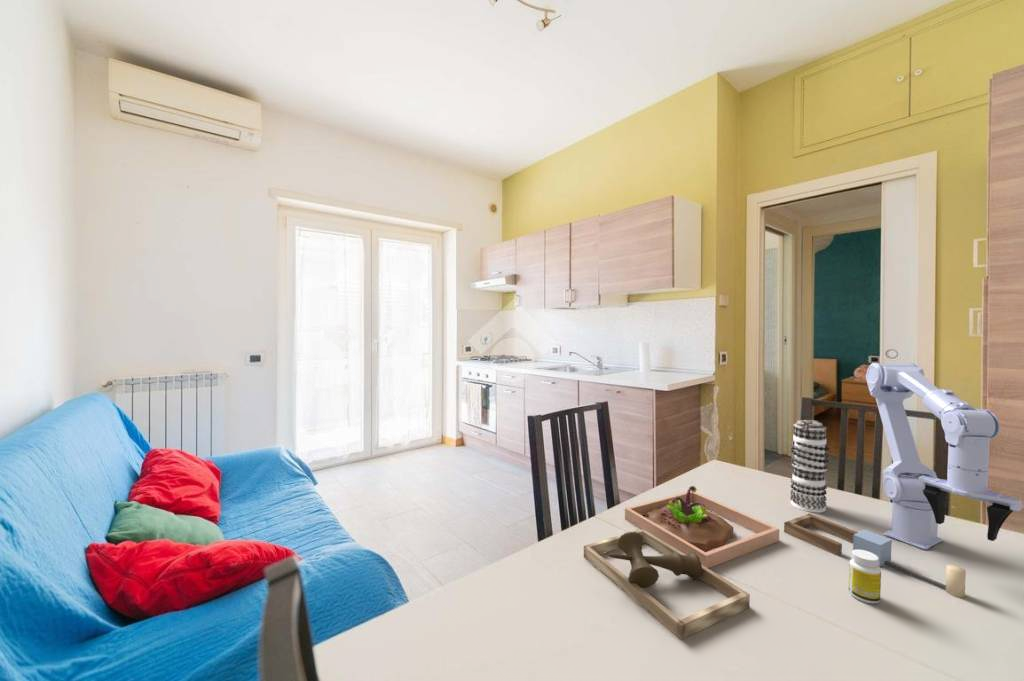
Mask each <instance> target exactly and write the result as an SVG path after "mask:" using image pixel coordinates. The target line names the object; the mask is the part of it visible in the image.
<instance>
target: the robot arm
mask: <svg viewBox="0 0 1024 681" xmlns="http://www.w3.org/2000/svg"><path fill="white" fill-rule="evenodd" d="M865 381H866V383H867V387H868V391H869V394H870V396H871V397H873V398H875V402H876V404H877V408H878V413H879V416H880V420H881V423H882V427H883V431H884V434H885V438H886V441H887V444H888V448H889V452H890V456H891V459H892V463H891V464H890V465H888V466H887V467H885V468H884V470H883V471H882V475H883V476H882V477H883V482H882V485H883V490H884V494H886V496H887V497H888V498H889V499H890V500H891V501H892V509H891V510H892V514H891V516H892V517H891V529H888V530H887V531H885V532H883V534H884V536H886V537H889V538H892V539H895V540H897V541H899V542H904V543H906V544H908V545H911V546H913V547H916V548H920V549H922V550H928V549H930V548H931V547H933V546H935V545H937V544H940V543H941V542H943V541H944V540H943V538H942V537H939V536H938V530H939V529H938V528H939V525H941V524H944V523H945V518H946V509H945V506H946V500H947V494H948V493H950V494H953V495H958V496H961V497H965V498H969V499H973V500H977V501H981V502H983V503H987V504H991V505H989V506H987V507H986V512H987V519H988V520H987V521H988V522H987V523H988V526H987V536H986V537H987V538H986V539H987V540H988V541H991V542H994V541H996V540H997V538H998V534H999V532H1000V530H1001V527H1002V526H1003V524H1004V522H1005V521H1006V520H1007V519H1008V518H1009V516H1010V515H1011V514H1012V513H1013V512H1014V511H1015V512H1020V511H1021V510H1022V508H1023V505H1022V504H1023V500H1022V499H1019V498H1015V497H1014V496H1013V497H1012V496H1008V495H1006V494H1004V493H1000V492H997V491H993V490H990V489H989V488H988V487H989V468H990V467H989V465H990V445H991V444H990V443H991V442H990V441H991V439H994V438H996V437H997V436H998V435H999V432H1000V429H1001V426H1000V421H999V419H998V417H997V416H996V414H994V413H993V412H992V411H991V410H989V409H985V408H982V409H979V408H975V407H973V406H972V405H971V404H970V403H968V402H966V401H965V400H963V399H962V398H961V397H959V396H958V395H957V394H955V392H954V391H953V390H951V389H945V388H938V387H937V386H936V385H935V384H933V383H932V382H931V381H930V380H929V379H928V378H927V377H926V376H925V372H924V368H922V367H920V365H918V364H917V363H914V362H913V363H878V362H872V363H871V364H870V365H869V366H868V368H867V370H866V374H865ZM914 394H915V395H916V396H918V397H920V398H921V399H922V405H923V406H924V408H925V409H927V411H929V412H930V413H932V414H933V415H934V416H936V418H937V419H939V420H940V421H941V422H940V424H941V427H942V429H943V431H944V439H945V443H948V446H947V447H948V448H947V450H948V451H947V453H948V454H947V474H946V475H947V478H946V479H942V478H938V476H937V473H936V471H934V469H931V468H930V467H929V466H927V465H925V464H924V463H922V461H921V458H920V455H919V452H918V449H917V446H916V442H915V439H914V436H913V435H914V434H913V432H912V429H911V426H910V422H909V419H908V416H907V413H906V409H905V406H904V400H906V399H908V398H912V396H913V395H914Z"/></svg>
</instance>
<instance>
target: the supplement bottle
mask: <svg viewBox="0 0 1024 681" xmlns="http://www.w3.org/2000/svg"><path fill="white" fill-rule="evenodd" d="M848 562H849V565H848V567H849V568H848V592H849V594H850V595H851V596H852V597H854V598H855V599H856V600H858V601H861V602H863V603H866V604H872V605H873V604H879V603H880V602H881V586H882V580H881V579H882V570H881V567H878V566H879V558H878V557H877V556H876V555H875V554H873V553H871V552H868V551H865V550H859V549H856V550H853V549H852V551H851V559H850V560H849V561H848Z"/></svg>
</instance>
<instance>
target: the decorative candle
mask: <svg viewBox="0 0 1024 681" xmlns="http://www.w3.org/2000/svg"><path fill="white" fill-rule="evenodd" d="M792 426H793V428H794V429H793V430H794V431H793V437H792V439H793V440H792V441H791V442H790V452H791V453H792V454H791V455H790V459H791V460H790V461H791V462H790V464H791V466H793V470H792V471H793V472H792V478H791V480H790V482H791V484H790V488H791V489H790V494H791V495H790V496H789V497H790V504H791V505H792V506H793V507H794V508H796V509H799V510H802V511H804V512H810V513H819V514H820V513H824V512H826V511H827V508H826V507H827V502H826V501H827V496H826V495H827V494H828V493H827V489H828V486H827V485H826V471H827V470H828V466H827V465H825V464H827V463H829V460H828V459H827V458H828V457H829V454H828V453H826V452H827V451H830V448H829V445H830V441H827V438H826V437H827V430H828V428H827V426H824V424H823V423H822V422H820V421H818V420H813V419H799V420H797V421H796V422H795V423H793V424H792Z"/></svg>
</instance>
